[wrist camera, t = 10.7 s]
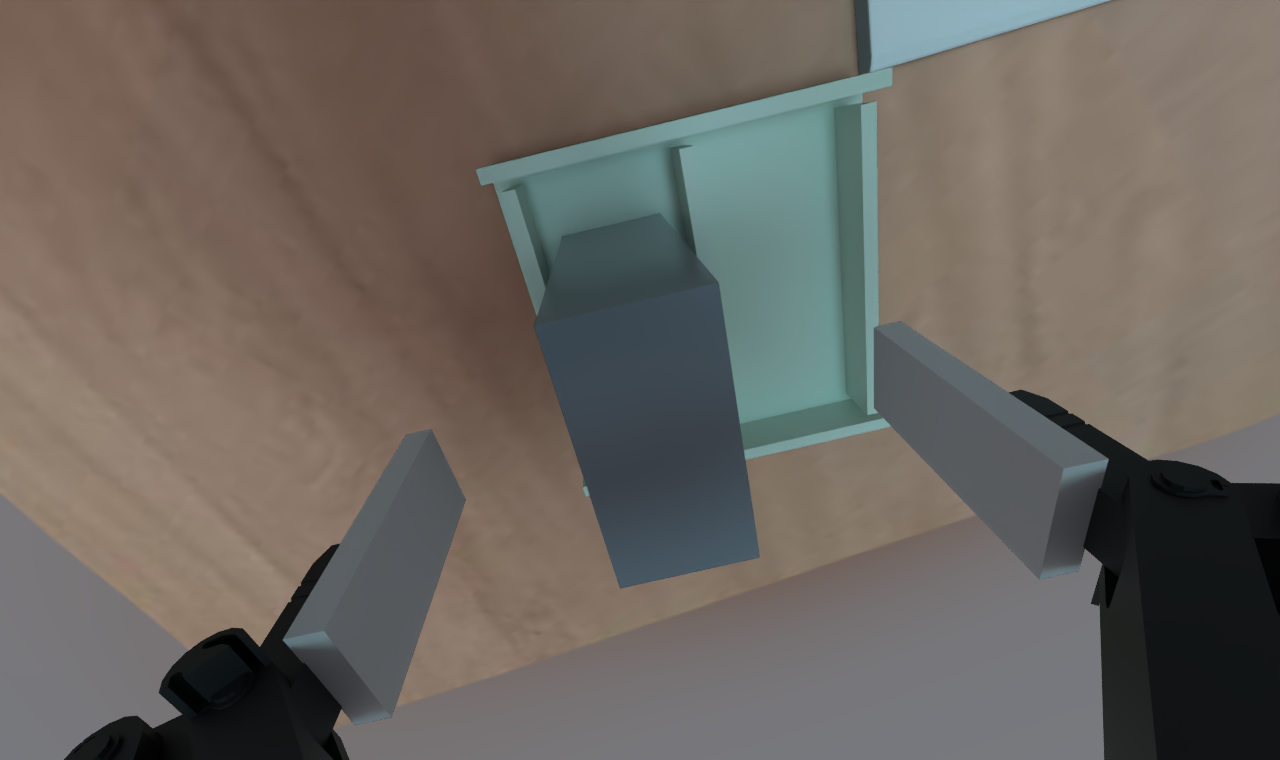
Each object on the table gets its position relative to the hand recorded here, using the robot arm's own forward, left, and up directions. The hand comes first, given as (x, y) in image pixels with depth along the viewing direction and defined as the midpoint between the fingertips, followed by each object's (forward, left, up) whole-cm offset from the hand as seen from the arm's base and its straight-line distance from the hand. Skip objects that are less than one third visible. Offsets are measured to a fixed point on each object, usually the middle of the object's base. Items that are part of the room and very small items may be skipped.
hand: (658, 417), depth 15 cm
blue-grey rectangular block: (0, 0, -11) cm, 11 cm away
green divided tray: (0, +3, -12) cm, 12 cm away
